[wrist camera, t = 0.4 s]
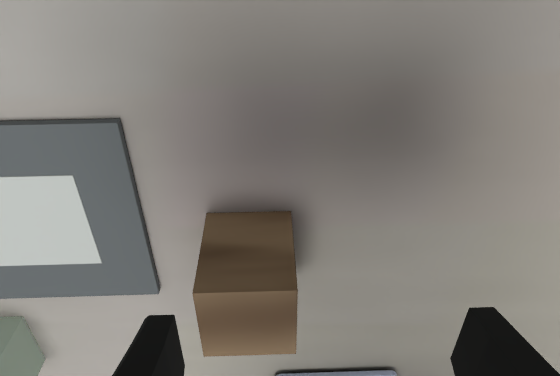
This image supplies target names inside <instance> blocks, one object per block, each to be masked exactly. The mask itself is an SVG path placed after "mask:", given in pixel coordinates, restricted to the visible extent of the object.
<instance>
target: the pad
mask: <svg viewBox="0 0 560 376" xmlns="http://www.w3.org/2000/svg"><path fill="white" fill-rule="evenodd" d="M159 291H160V285H159V281H158V277H157V272H156V268H155V264H154V260H153V256H152V252H151V247H150V243H149V239H148V235H147V231H146V226H145V222H144V218H143V214H142V210H141V205H140V201H139V197H138V193H137V189H136V184H135V180H134V176H133V172H132V168H131V164H130V159H129V155H128V151H127V147H126V143H125V138H124V134H123V130H122V126H121V122H120V119H79V120H29V121H0V299H7V298H41V297H75V296H109V295H143V294H159Z"/></svg>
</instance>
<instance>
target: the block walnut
mask: <svg viewBox="0 0 560 376" xmlns="http://www.w3.org/2000/svg"><path fill="white" fill-rule="evenodd" d="M297 294H298V289H297V278H296V266H295V254H294V242H293V230H292V218H291V211H271V212H231V213H207V214H206V220H205V226H204V232H203V237H202V243H201V249H200V254H199V260H198V266H197V271H196V277H195V283H194V288H193V299H194V304H195V310H196V315H197V321H198V327H199V332H200V338H201V343H202V349H203V355H204V356H236V355H268V354H296V335H297Z"/></svg>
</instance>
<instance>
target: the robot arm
mask: <svg viewBox="0 0 560 376" xmlns="http://www.w3.org/2000/svg"><path fill="white" fill-rule="evenodd" d="M450 359H451V362H452V366H453V370H454V373H455V376H560V374H559V373H558V372H557V371H556V370H555V369H554V368H553V367H552V366H551V365H550V364H549V363H548V362H547V361H546V360H545V359H544V358H543V357H542V356H541V355H540V354H539V353H538V352H537V351H536V350H535V349H534V348H533V347H532V346H531V345H530V344H529V343H528V342H527V341H526V340H525V339H524V338H523V337H522V336H521V335H520V334H519V333H518V332H517V330H516V329H515V328H514V327H513V326H512V325H511V324H510V323H509V322H508V321H507V320H506V319H505V318H504V317H503V316H502V315H501V314H500V313H499V312H498V311H497V310H496V309H495V308H494V307H481V308H469V310H468V312H467V315H466V318H465V321H464V323H463V326H462V329H461V331H460V334H459V337H458V339H457V342H456V345H455V348H454V350H453V353H452V356H451V358H450ZM184 368H185V364H184V359H183V355H182V350H181V345H180V340H179V335H178V330H177V325H176V321H175V316H174V315H149V316H148V317H147V318H145V320H144V322H143V324H142V325H141V327H140V329H139V331H138V333H137V335H136V336H135V338H134V340H133V342H132V343H131V345H130V347H129V349H128V350H127V352H126V354H125V355H124V357H123V359H122V360H121V362H120V364H119V365H118V367H117V369H116V370H115V372H114V374H113V375H112V376H184ZM276 376H397V373H396V372H395V371H393V370H379V371H349V372H319V373H290V374H278V375H276Z"/></svg>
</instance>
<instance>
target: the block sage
mask: <svg viewBox="0 0 560 376" xmlns="http://www.w3.org/2000/svg"><path fill="white" fill-rule="evenodd" d="M44 361H45V357H44V355H43V353H42V351H41V349H40V348H39V346H38V344H37V342H36V340H35V338H34V336H33V334H32V332H31V331H30V329H29V327H28V325H27V323H26V321H25V319H24V317H23V316H17V317H0V376H38V374H39V372H40V370H41V367H42V365H43V363H44Z"/></svg>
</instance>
